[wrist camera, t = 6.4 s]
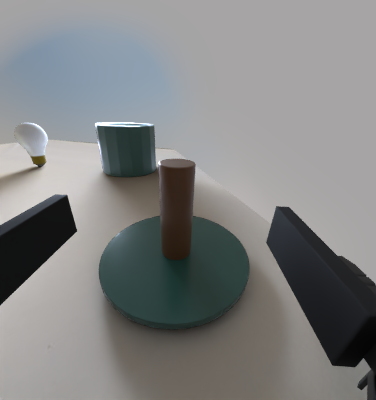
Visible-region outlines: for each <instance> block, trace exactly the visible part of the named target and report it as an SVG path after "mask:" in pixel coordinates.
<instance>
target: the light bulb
mask: <svg viewBox="0 0 376 400" xmlns="http://www.w3.org/2000/svg"><path fill="white" fill-rule="evenodd" d="M14 136H15V139H16V140H17V142H18V143H19V144H20V145H22V146H23V147H24V148H25V149H26V150H27V152H28V153H29V155H30V156H31V158H32V161H33V162H34V164H36V165H38V166H43V165H44V164H45V163H46V159H45V155H44V154H45V146H46V144H47V140H48V139H47V135H46V133H45V132H44V130H43V129H42V128H41V127H39V126H38V125H36V124H33V123H22V124H20V125H18V126H17V127H16V128H15V131H14Z"/></svg>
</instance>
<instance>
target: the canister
mask: <svg viewBox="0 0 376 400" xmlns="http://www.w3.org/2000/svg"><path fill="white" fill-rule="evenodd" d="M95 127H96V133H97V139H98V144H99V150H100V156H101V162H102V168H103V171H104V173H106V174H108V175H111V176H117V177H135V176H142V175H147V174H150V173H152V172H154V171H155V170H156V157H155V134H154V125H152V124H141V123H97V124H95Z"/></svg>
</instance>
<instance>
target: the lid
mask: <svg viewBox="0 0 376 400" xmlns="http://www.w3.org/2000/svg"><path fill="white" fill-rule="evenodd" d="M194 182H195V163H194V162H193V161H190V160H185V159H166V160H162V161H160V162H159V189H160V216H156V217H152V218H148V219H145V220H142V221H139V222H137V223H135V224H133V225H131V226H129V227H127V228H126V229H124V230H123V231H121V232H120V233H119V234H117V235H116V236H115V237H114V238H113V239H112V240H111V241H110V243H109V244H108V245H107V247H106V248H105V250H104V252H103V254H102V256H101V260H100V264H99V278H100V283H101V286H102V289H103V292H104V294H105V296H106V298H107V300H108V301H109V302H110V303H111V305H112V306H113V307H114V308H115V309H116V310H117V311H119V312H120V313H121V314H122V315H124V316H125V317H127V318H129V319H131V320H132V321H134V322H137V323H140V324H142V325H145V326H149V327H154V328H159V329H185V328H191V327H195V326H199V325H202V324H205V323H208V322H210V321H213V320H214V319H216V318H218V317H220V316H221V315H223V314H224V313H226V312H227V311H228V310H229V309H231V308H232V307H233V306H234V305H235V303H236V302H237V301H238V300H239V298H240V297H241V295H242V294H243V292H244V290H245V287H246V284H247V281H248V276H249V261H248V256H247V254H246V251H245V249H244V247H243V245H242V244H241V243H240V241H239V240H238V239H237V238H236V237H235V236H234V235H233V234H232V233H231V232H230V231H228V230H227V229H226V228H224V227H222V226H221V225H219V224H217V223H215V222H212V221H210V220H207V219H204V218H200V217H196V216H193V200H194Z"/></svg>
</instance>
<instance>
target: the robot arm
mask: <svg viewBox="0 0 376 400" xmlns="http://www.w3.org/2000/svg"><path fill="white" fill-rule="evenodd" d="M76 232H77V229H76V225H75V222H74V218H73V214H72V211H71V207H70V204H69V200H68V197H67V195H54V196H52V197H50V198H48V199H46V200H45V201H43V202H41V203H39V204H38V205H36V206H34V207H32V208H30V209H29V210H27V211H25V212H23V213H21V214H20V215H18V216H16V217H14V218H13V219H11V220H9V221H7V222H5V223H4V224H2V225H0V305H1V304H2V303H3V302H4V301H5V300H6V299H7V298H8V297H9V296H10V295H11V294H12V293H13V292H14V291H16V290H17V289H18V288H19V287H20V286H21V285H22V284H23V283H24V282H25V281H26V280H27V279H28V278H29V277H30V276H31V275H32V274H33V273H34V272H35V271H36V270H37V269H38V268H39V267H40V266H41V265H42V264H43V263H45V262H46V261H47V260H48V259H49V258H50V257H51V256H52V255H53V254H54V253H55V252H56V251H57V250H58V249H59V248H60V247H61V246H62V245H63V244H64V243H65V242H66V241H67V240H68V239H69V238H70V237H71V236H73V235H74V234H75V233H76ZM266 243H267V245H268V246H269V248H270V250H271V252H272V254H273V256H274V258H275V259H276V261H277V263H278V265H279V267H280V269H281V271H282V272H283V274H284V276H285V278H286V280H287V282H288V284H289V285H290V287H291V289H292V291H293V293H294V295H295V297H296V298H297V300H298V302H299V304H300V306H301V308H302V310H303V311H304V313H305V315H306V317H307V319H308V321H309V323H310V325H311V326H312V328H313V330H314V332H315V334H316V336H317V338H318V339H319V341H320V343H321V345H322V347H323V349H324V351H325V352H326V354H327V356H328V358H329V360H330V362H331V364H332V365H333V366H345V367H356V366H357V365H358V364H359V362H360V361H361V360H362V359H363V358H364V359H365V360H366V362H367V363H368V365H369V366H370V368H371V370H370V371H369V372H368V373H367V374H366V375H365V376H364V377H363V378H362V379H361V381H360V382H359V384H358V386H357V387H358V388H359V389H361V390H362V389H363V388H364V387H365V386H366V385H368V387H367V400H376V285H375V283H374V282H373V281H372V280H371V279H369V277H366V275H365V274H364V273H363V272H362V271H361V270H360V269H359V268H358V267H357V266H356V265H355V264H353V263H351V262H350V261H349V260H347V259H345V258H344V257H342V256H337V255H336V254H335V253H334V252H333V251H332V250H331V249H330V248H329V247H328V246H327V245H326V244H325V243H324V242H323V241H322V240H321V239H320V238H319V237H318V236H317V235H316V234H315V233H314V232H313V231H312V230H311V229H310V228H309V227H308V226H307V225H306V224H305V223H304V222H303V221H302V220H301V219H300V218H299V217H298V216H297V215H296V214H295V213H294V212H293V211H292V210H291V209H290V208H289V207H276V210H275V214H274V217H273V220H272V224H271V228H270V231H269V235H268V238H267V242H266Z"/></svg>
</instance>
